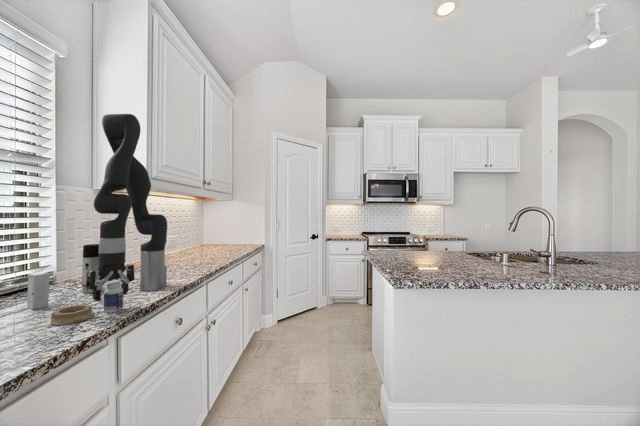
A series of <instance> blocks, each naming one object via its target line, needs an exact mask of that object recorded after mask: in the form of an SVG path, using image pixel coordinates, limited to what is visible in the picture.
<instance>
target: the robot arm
mask: <svg viewBox="0 0 640 426" xmlns="http://www.w3.org/2000/svg"><path fill="white" fill-rule="evenodd" d="M101 124H102V129H103V132H104V135H105V137H106V139H107V142H108V144H109V145H110V147H111V148H110V149H111V150H112V153H113V154H112V156H111V157H110V158H109V159H108V161H107V164H106V165H105V170H104V178H103V183H102V185H101V186H100V189H99V191H98V192H97V194H96V195H95V197H94V200H93V208H94V210H95V211H96V212H97V213H99V214H103V215H104V214H106V215H108V214H109V215H110V214H112V215H117V216H116V218H115V219H109V220H104V221H102V222H101V223H100V225H99V226H100V227H99V242H98V244H99V258H98V265H99V269H98V270H95V271H91V270H89V271H88V272H87V280H86V289H91V290H93V293H92V299H93V300H94V302H95V301H96V302H101V301H102V300H101V299H102V290H100V289H101V287H102V288H103V286H104V285H105V284H107V283H108V282H112V281H114V280H116V281H119V282H121V286H120V288H122V289H123V296H124V295H127V294H128V292H129V283H131V282H133V281H135V266H134V264H129V263H128V264H126V265H125V263H126V250H127V249H126V248H127V247H126V246H127V244H126V225H127V221H128V218H129V215H130V212H131V209H132V214H133V219H134V223H135V224H134V225H135V228H136V230H137V232H138V233H139V234H140V235H144V236H145V235H146V236H150V240H148V241H147V242H145V243H141V245H140V269H139V270H140V271H139V272H140V280H139V281H140V282H139V283H140V284H139V285H140V286H139V289H140V291H142V292H155V291H159V290H162V289H164V288H165V287H167V267H168V266H166V265H165V264H166V263H165V261H166V260H165V259H166V258H165V257H166V256H165V254H166V253H165V251H166V250H165V249H166V248H165V247H166V243H167V237H168V235H167V233H168V220H167V218H166V217H165V216H164V215H163V214H153V213H151V214H150V213H149V210H148V207H147V200H148V199H149V198H148V197H149V195H150V192H151V189H152V182H151V180H150V176H149V172H148V170H147V168H146V167H145V166H144V165H143V164H142V163H141V161H139V160H138V159H137V158H136V157H135V156H134V155H135V152H136V150H137V146H138V144H139V143H138V142H139V139H140V135H141V124H140V121H139V120H138V118H137V116H135V115H134V114H131V113H115V114H105V115H103V116H102V119H101ZM123 190H124V191H125V190H126V193H127V194H126V193H125V194H124V193H123V194H122V193H114V192H118V191H123ZM125 271H126V275H125V274H124V272H125ZM97 274H99V277H98V279H97V280H96V283H95V277H96V276H97Z"/></svg>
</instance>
